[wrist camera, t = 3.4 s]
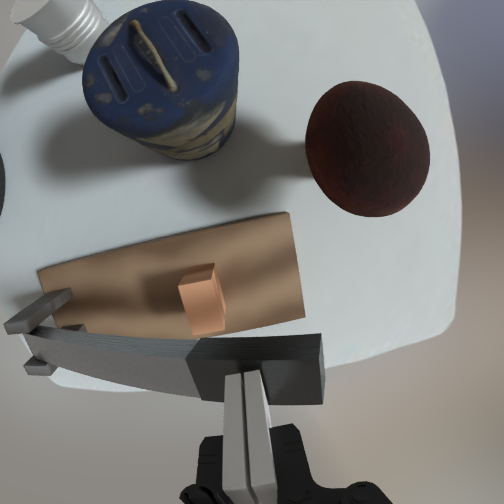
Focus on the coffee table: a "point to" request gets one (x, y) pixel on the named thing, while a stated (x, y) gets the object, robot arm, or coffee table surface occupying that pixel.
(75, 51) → the white ribbed cylinder
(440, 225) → the coffee table surface
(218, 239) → the base
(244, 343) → the lever
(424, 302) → the coffee table surface
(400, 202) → the decorative mushroom
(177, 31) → the canister
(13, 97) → the coffee table surface
